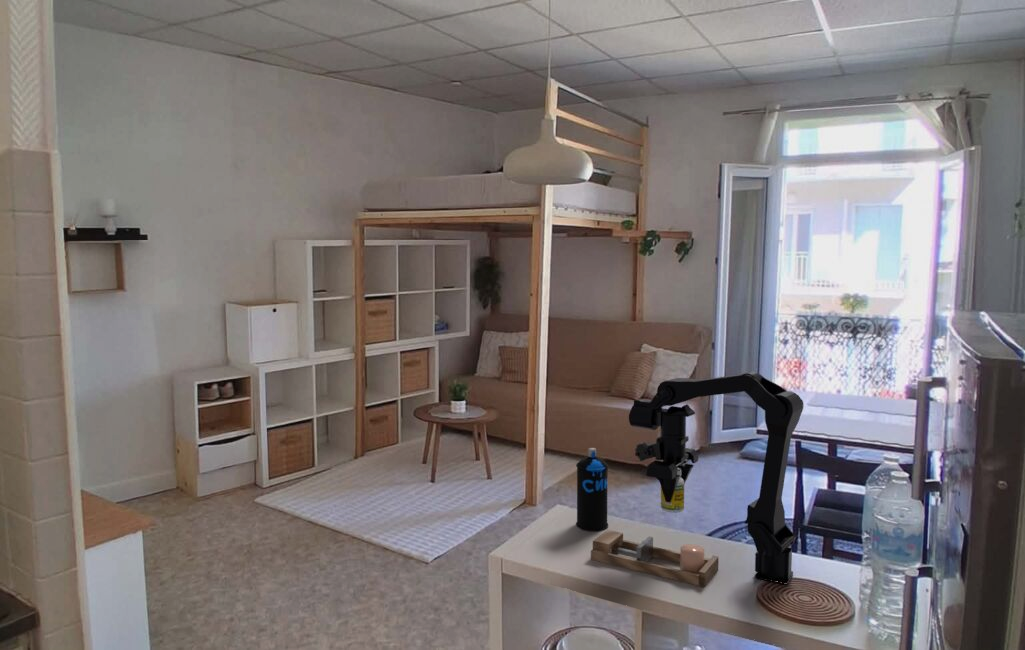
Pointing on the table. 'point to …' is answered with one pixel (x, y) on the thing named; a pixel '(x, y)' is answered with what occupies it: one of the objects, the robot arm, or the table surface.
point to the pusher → (640, 550)
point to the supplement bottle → (675, 497)
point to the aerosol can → (592, 492)
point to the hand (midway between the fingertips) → (672, 498)
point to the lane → (615, 541)
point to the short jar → (692, 558)
